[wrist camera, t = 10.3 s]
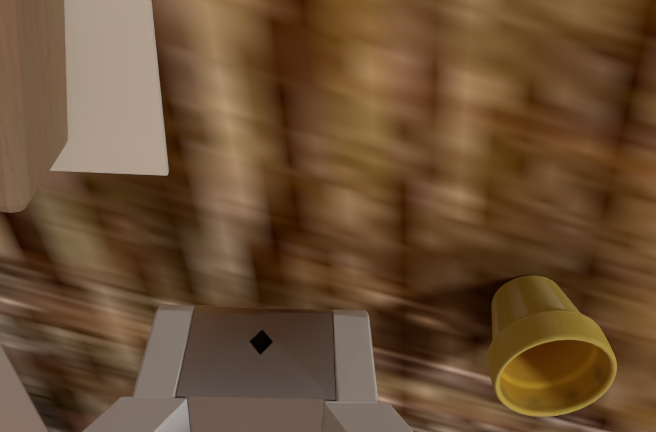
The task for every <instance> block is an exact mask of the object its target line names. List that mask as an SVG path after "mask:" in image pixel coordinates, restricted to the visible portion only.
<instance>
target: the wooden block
mask: <svg viewBox="0 0 656 432" xmlns="http://www.w3.org/2000/svg"><path fill="white" fill-rule="evenodd" d="M67 141H68V124H67V87H66V49H65V11H64V0H0V211H2V212H8V213H12V212H20V211H22V210H23V209H25V208H26V207H27V205H28V203H29V202H30V200H31V199H32V197H33V196H34V194H35V192H36V191H37V189H38V188H39V186H40V185H41V183H42V181H43V180H44V178H45V177H46V175H47V174H48V172H49V170H50V169H51V167H52V166H53V164H54V163H55V161H56V159H57V158H58V156H59V155H60V153H61V152H62V150H63V148H64V147H65V145H66V143H67Z"/></svg>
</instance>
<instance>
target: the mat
mask: <svg viewBox="0 0 656 432" xmlns="http://www.w3.org/2000/svg"><path fill="white" fill-rule="evenodd" d="M64 11H65V49H66V87H67V124H68V141H67V143H66V145H65V147H64V148H63V150H62V152H61V153H60V155H59V156H58V158H57V159H56V161H55V163H54V164H53V166H52V167H51V169H50V171H74V172H97V173H121V174H144V175H168V172H169V170H168V160H167V150H166V140H165V130H164V120H163V111H162V101H161V91H160V81H159V71H158V61H157V51H156V42H155V32H154V22H153V12H152V2H151V0H64Z"/></svg>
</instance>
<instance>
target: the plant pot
mask: <svg viewBox="0 0 656 432" xmlns="http://www.w3.org/2000/svg"><path fill="white" fill-rule="evenodd" d="M491 306H492V343H491V345H490V347H489V350H488V354H487V363H488V368H489V373H490V377H491V381H492V384H493V388H494V391H495V394H496V396H497V398H498V399H499V400H500V402H501V403H502V404H504V405H505V406H506V407H507V408H509V409H511V410H513V411H515V412H517V413H520V414H524V415H529V416H538V417H539V416H541V417H546V416H557V415H562V414H566V413H570V412H573V411H576V410H579V409H581V408H583V407H585V406H587V405H589V404H591V403H593V402H594V401H596V400H597V399H599V398H600V397H601V396H602V395H603V394H604V393H605V392H606V391H607V390H608V389H609V387H610V386H611V384H612V382H613V381H614V378H615V375H616V371H617V363H616V358H615V355H614V353H613V351H612V349H611V347H610V345H609V343H608V341H607V339H606V337H605V335H604V334H603V332H602V330H601V329H600V327H599V326H598V325H597V324H596V323H595V322H594V321H593V320H592V319H590V318H589V317H587V316H585V315H583V314H581V313H580V312H579V311H578V310H577V308H576V307H575V306H574V305H573V304H572V302H571V301H570V300H569V299H568V298H567V296H566V295H565V294H564V293H563V292H562V290H561V289H560V288H559V287H558V286H557V284H556V283H555V282H553V281H552V280H550V279H548V278H546V277H543V276H537V275H527V276H521V277H518V278H515V279H512V280H510V281H508V282H507V283H505V284H504V285H502V286H501V287H500V288H499V289H498V290H497V292H496V293H495V295H494V297H493V299H492V305H491Z"/></svg>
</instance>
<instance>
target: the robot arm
mask: <svg viewBox="0 0 656 432" xmlns="http://www.w3.org/2000/svg"><path fill="white" fill-rule="evenodd" d="M82 432H414V431H413V430H412V429H411V428H410V427H409V426H408V424H407V423H406V422H405V421H404V420H403V419H402V418H401V416H400V415H399V414H398V413H397V412H396V411H395V409H394V408H393V407H392V406H391V405H390V404H389V403H383V402H378V396H377V386H376V377H375V368H374V359H373V349H372V340H371V331H370V322H369V315H368V313H367V312H366V310H332V311H331V310H315V309H255V308H236V307H218V306H199V305H197V306H185V305H168V304H161V305H160V307H159V308H158V310H157V311H156V313H155V317H154V321H153V324H152V328H151V331H150V335H149V338H148V342H147V345H146V349H145V352H144V356H143V359H142V363H141V367H140V370H139V374H138V377H137V381H136V384H135V388H134V391H133V395H132V397H120V398H119V399H118V400H117V401H116V402H115V403H114V404H112V405H111V406H110V407H109V408H108V409H107V410H106V411H105V412H104V413H102V414H101V415H100V416H99V417H98V418H97V419H96V420H95V421H94V422H92V423H91V424H90V425H89V426H88V427H87V428H86V429H85V430H84V431H82Z"/></svg>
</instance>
